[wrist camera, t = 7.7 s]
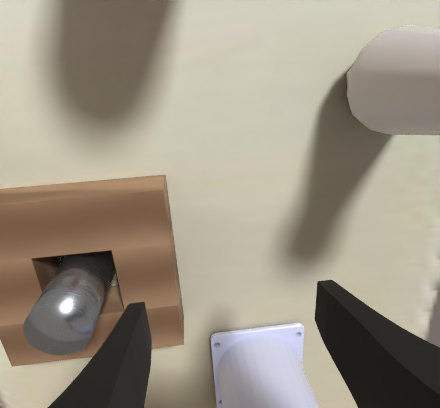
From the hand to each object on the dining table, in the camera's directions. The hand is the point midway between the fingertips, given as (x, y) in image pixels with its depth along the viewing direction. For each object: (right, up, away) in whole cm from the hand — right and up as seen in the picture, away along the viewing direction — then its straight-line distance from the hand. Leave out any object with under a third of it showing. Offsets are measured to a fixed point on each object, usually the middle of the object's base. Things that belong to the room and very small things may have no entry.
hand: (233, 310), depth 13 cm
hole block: (-10, 0, +10) cm, 14 cm away
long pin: (-10, 0, +10) cm, 14 cm away
